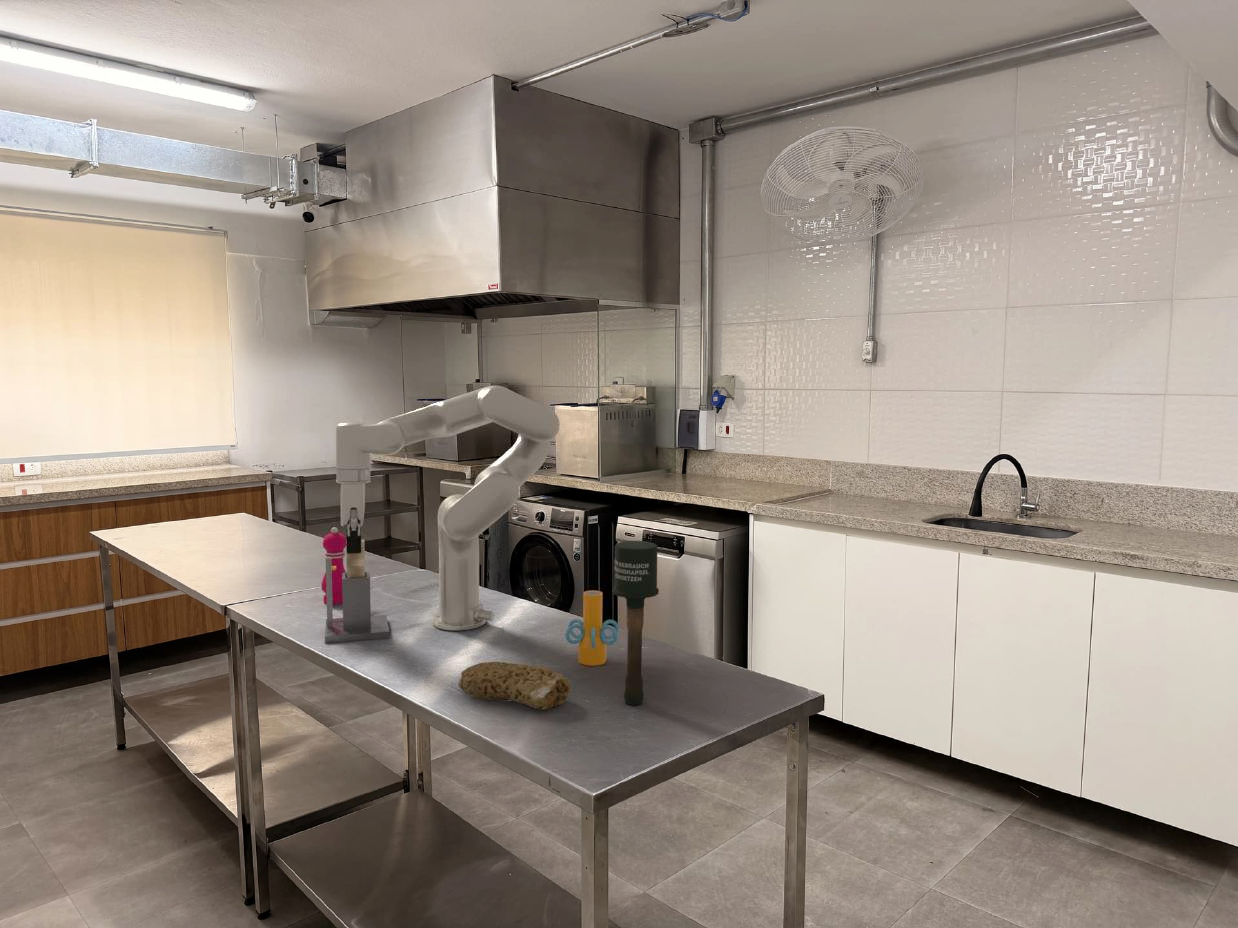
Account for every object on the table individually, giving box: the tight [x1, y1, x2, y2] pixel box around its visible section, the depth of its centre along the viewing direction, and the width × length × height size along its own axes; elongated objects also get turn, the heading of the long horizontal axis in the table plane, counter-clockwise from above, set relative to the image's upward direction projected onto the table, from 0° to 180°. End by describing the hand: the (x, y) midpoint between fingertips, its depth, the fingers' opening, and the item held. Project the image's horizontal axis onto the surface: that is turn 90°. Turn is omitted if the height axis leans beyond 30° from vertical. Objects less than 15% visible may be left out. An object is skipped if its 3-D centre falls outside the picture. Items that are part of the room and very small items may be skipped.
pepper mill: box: [320, 526, 347, 605], centre depth 219 cm, size 7×7×20 cm
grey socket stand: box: [324, 557, 390, 644], centre depth 194 cm, size 14×14×18 cm
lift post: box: [345, 538, 366, 578], centre depth 194 cm, size 4×4×20 cm
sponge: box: [458, 661, 572, 711], centre depth 155 cm, size 13×8×20 cm
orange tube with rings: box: [565, 590, 619, 667], centre depth 175 cm, size 12×10×15 cm
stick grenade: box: [611, 540, 660, 706], centre depth 153 cm, size 8×9×30 cm
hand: (353, 548), depth 193 cm, fingers open, 9 cm apart
